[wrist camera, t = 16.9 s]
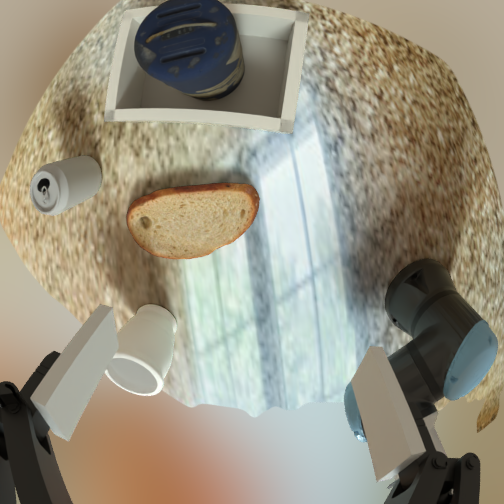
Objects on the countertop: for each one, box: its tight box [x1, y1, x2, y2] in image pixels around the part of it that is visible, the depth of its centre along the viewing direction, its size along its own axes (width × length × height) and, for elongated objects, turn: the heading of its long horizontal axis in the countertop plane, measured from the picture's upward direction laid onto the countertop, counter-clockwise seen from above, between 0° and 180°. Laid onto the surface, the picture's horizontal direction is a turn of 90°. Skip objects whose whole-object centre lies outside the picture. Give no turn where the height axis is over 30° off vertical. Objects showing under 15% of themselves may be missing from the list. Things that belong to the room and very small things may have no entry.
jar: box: [105, 304, 177, 396], centre depth 44 cm, size 11×10×15 cm
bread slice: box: [127, 183, 260, 259], centre depth 41 cm, size 18×18×4 cm
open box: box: [104, 3, 309, 134], centre depth 29 cm, size 23×16×9 cm
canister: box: [134, 0, 245, 101], centre depth 24 cm, size 10×10×18 cm
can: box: [30, 155, 102, 216], centre depth 34 cm, size 8×8×12 cm
